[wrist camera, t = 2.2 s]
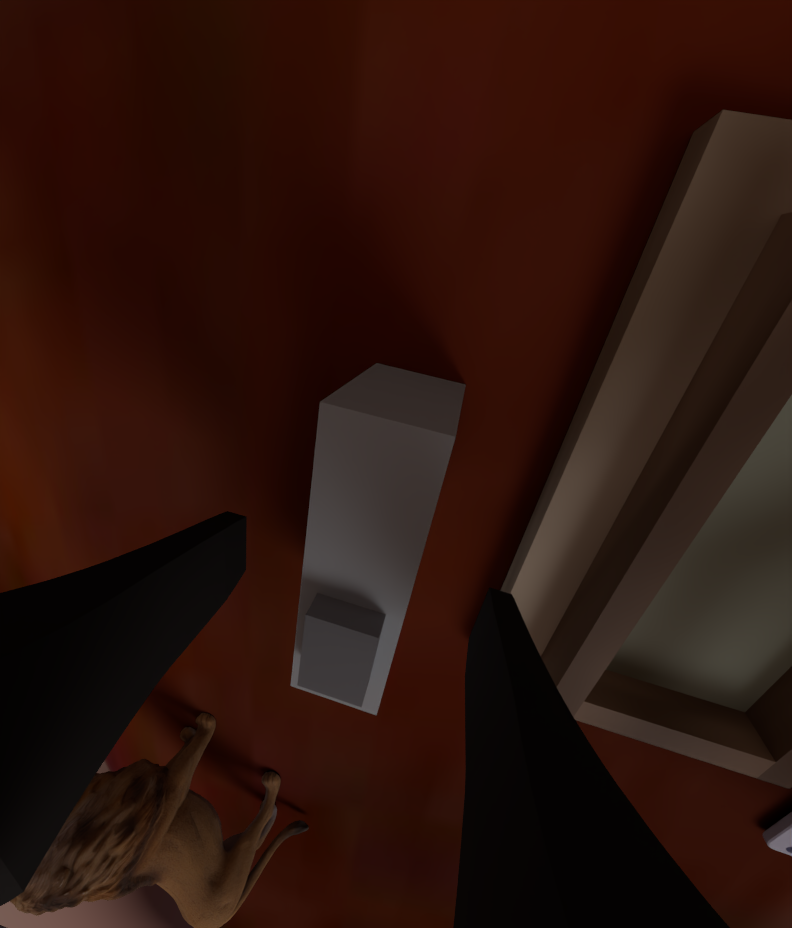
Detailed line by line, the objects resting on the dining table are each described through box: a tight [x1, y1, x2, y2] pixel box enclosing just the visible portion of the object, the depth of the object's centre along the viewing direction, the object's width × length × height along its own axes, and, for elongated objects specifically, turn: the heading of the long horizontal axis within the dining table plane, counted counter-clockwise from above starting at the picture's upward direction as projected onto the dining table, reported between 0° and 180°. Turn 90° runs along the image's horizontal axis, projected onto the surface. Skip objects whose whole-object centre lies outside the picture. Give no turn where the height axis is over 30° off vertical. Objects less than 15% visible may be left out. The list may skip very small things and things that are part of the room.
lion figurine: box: [10, 713, 309, 928], centre depth 21 cm, size 15×5×9 cm, turn 45°
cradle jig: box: [500, 110, 792, 789], centre depth 11 cm, size 12×18×3 cm, turn 169°
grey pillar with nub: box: [291, 363, 466, 715], centre depth 12 cm, size 3×10×6 cm, turn 169°
